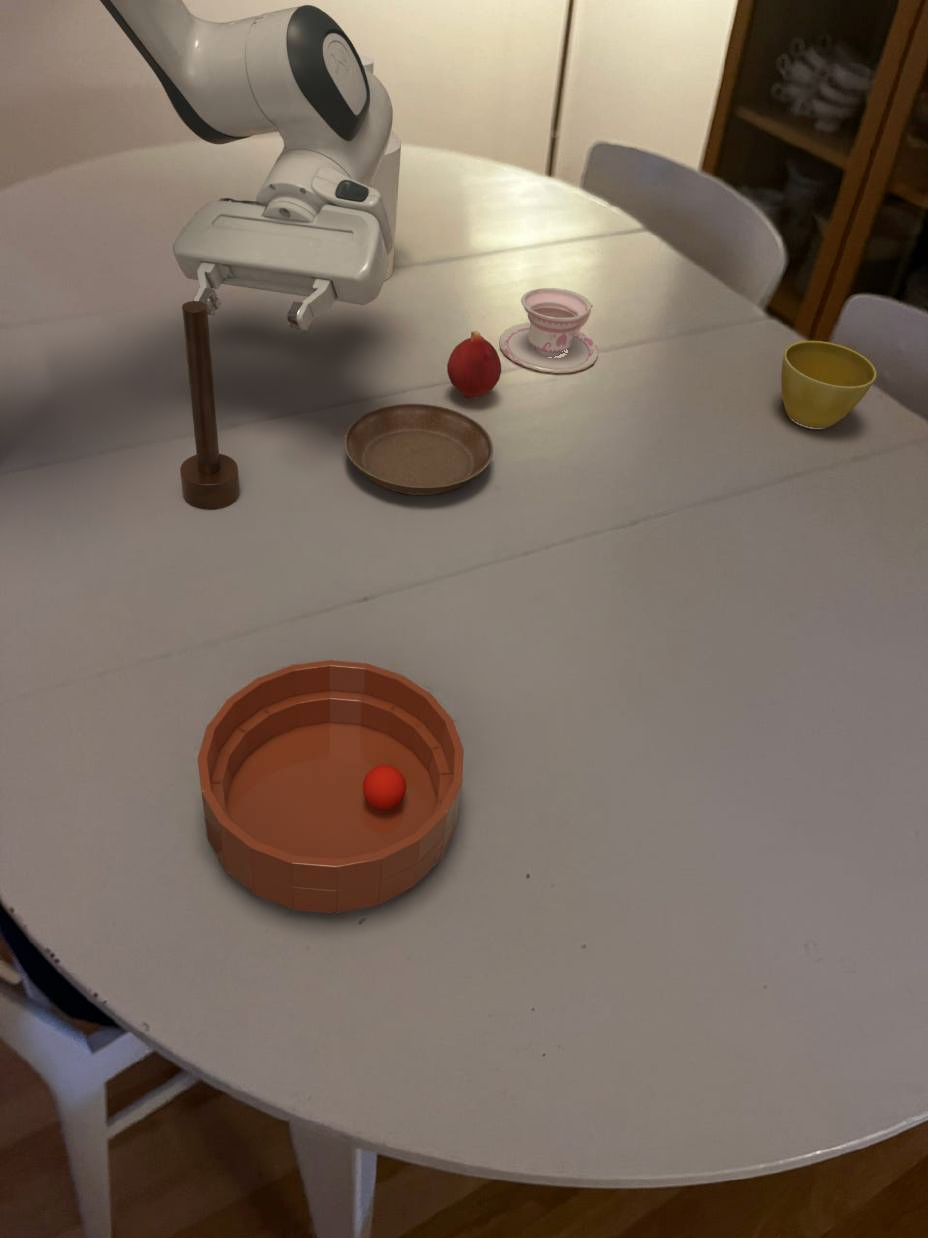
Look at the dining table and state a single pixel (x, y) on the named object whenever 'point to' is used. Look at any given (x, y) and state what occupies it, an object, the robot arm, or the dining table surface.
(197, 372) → the wooden peg stand
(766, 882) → the dining table surface
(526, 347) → the teacup
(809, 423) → the flower pot
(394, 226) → the bottle
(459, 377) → the onion
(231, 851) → the bowl
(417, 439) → the saucer
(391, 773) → the cherry tomato
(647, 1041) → the dining table surface
